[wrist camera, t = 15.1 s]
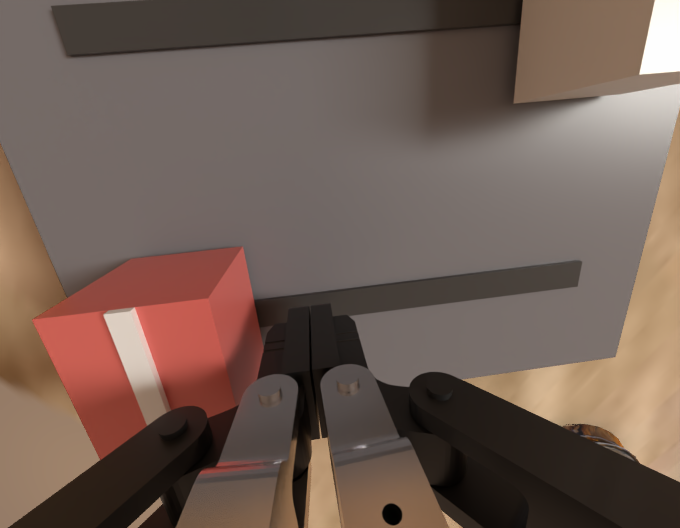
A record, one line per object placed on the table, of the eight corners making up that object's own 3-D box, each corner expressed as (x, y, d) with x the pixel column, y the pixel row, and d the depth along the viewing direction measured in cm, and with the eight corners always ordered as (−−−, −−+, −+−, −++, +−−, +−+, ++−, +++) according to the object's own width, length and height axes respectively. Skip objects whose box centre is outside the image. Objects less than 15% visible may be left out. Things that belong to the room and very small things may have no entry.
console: (-26, -111, 10) (-164, -219, 7) (656, -136, 12) (775, -234, 9) (153, 383, 17) (121, 432, 14) (568, 326, 19) (619, 359, 16)
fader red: (131, 258, 11) (25, 324, 7) (242, 246, 12) (205, 302, 7) (175, 390, 13) (114, 503, 9) (269, 377, 14) (252, 481, 9)
